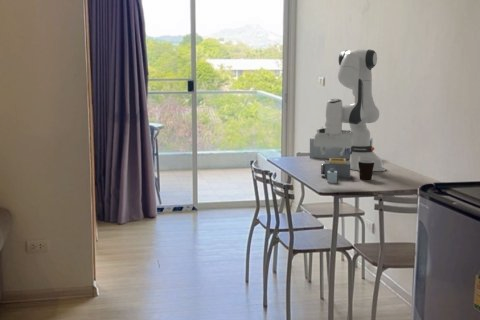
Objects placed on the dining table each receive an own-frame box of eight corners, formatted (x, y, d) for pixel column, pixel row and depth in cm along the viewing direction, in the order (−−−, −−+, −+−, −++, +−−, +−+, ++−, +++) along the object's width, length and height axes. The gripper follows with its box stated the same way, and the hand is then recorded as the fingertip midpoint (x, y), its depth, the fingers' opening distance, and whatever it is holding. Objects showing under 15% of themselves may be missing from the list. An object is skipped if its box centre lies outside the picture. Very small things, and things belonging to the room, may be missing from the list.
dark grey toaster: (349, 174, 333) (349, 158, 331) (350, 178, 322) (350, 161, 320) (320, 173, 335) (321, 157, 333) (320, 177, 324) (321, 160, 323)
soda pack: (372, 158, 390) (373, 137, 388) (370, 161, 378) (371, 140, 375) (312, 155, 401) (312, 135, 399) (308, 158, 389) (309, 137, 387)
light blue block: (336, 180, 316) (336, 168, 315) (336, 182, 311) (337, 169, 310) (327, 180, 317) (327, 167, 316) (327, 182, 312) (327, 169, 311)
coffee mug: (370, 181, 314) (371, 163, 312) (355, 179, 319) (355, 161, 317) (377, 178, 324) (378, 160, 322) (362, 176, 328) (363, 158, 327)
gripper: (353, 129, 311) (351, 155, 313) (314, 128, 314) (313, 153, 316) (353, 131, 305) (352, 157, 307) (314, 129, 307) (313, 155, 310)
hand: (332, 155), depth 311 cm, fingers open, 8 cm apart
